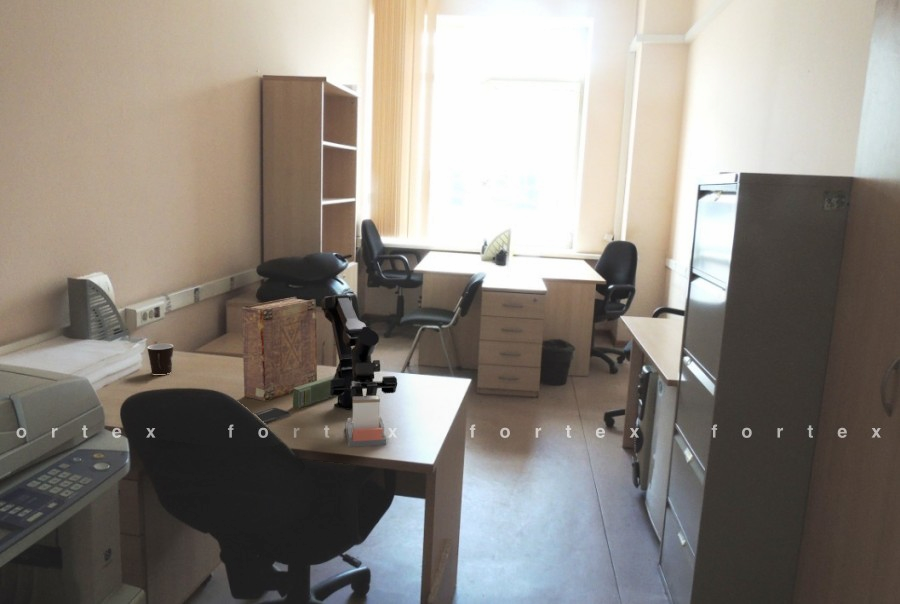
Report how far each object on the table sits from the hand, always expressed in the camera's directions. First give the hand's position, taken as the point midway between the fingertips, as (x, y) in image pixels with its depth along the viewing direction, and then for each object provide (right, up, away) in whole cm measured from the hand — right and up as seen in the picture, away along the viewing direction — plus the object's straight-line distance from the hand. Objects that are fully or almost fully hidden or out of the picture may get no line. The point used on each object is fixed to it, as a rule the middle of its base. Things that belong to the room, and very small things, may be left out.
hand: (365, 412), depth 177 cm
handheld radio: (-18, -1, +32) cm, 37 cm away
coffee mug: (-81, +5, +53) cm, 97 cm away
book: (-34, +1, +40) cm, 52 cm away
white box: (0, -5, -1) cm, 5 cm away
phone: (-32, -4, +12) cm, 34 cm away
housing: (0, -7, +2) cm, 7 cm away
